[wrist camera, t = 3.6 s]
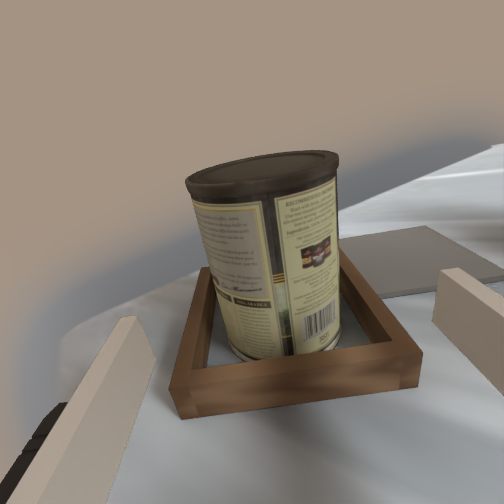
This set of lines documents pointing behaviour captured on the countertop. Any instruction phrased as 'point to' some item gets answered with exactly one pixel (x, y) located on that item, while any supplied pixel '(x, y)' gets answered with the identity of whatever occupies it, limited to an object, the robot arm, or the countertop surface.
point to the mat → (412, 260)
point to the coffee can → (273, 250)
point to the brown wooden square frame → (293, 359)
